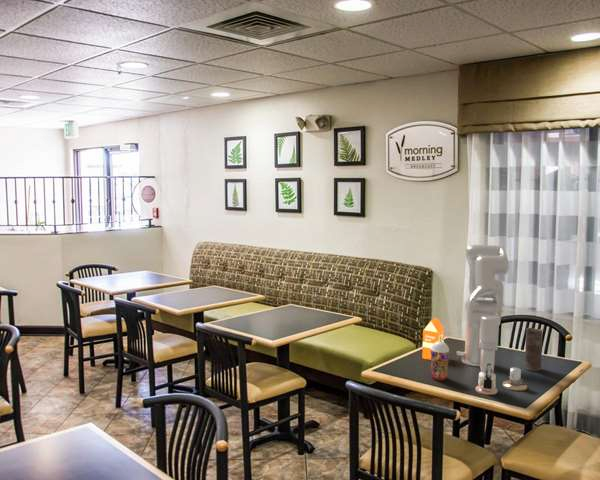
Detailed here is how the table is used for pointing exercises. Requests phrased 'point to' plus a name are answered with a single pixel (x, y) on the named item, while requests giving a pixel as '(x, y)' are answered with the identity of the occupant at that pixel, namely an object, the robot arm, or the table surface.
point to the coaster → (486, 390)
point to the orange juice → (431, 337)
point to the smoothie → (439, 360)
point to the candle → (533, 349)
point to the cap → (482, 377)
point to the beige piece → (515, 380)
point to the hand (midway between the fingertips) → (486, 385)
